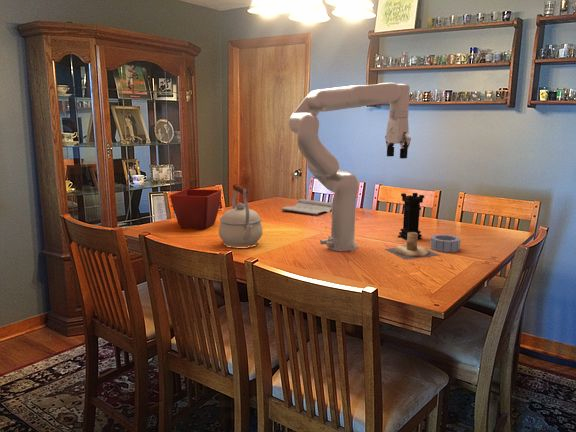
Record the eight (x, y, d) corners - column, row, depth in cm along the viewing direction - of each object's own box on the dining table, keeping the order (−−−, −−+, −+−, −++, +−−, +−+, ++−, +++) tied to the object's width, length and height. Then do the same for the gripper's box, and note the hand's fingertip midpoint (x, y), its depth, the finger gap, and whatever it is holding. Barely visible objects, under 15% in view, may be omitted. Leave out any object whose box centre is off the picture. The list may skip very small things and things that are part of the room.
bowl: (442, 254, 195) (443, 242, 194) (424, 247, 205) (425, 235, 204) (465, 252, 199) (466, 240, 198) (447, 245, 209) (447, 233, 208)
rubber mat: (405, 260, 187) (405, 259, 187) (384, 250, 201) (384, 249, 201) (440, 256, 193) (440, 255, 192) (417, 246, 206) (417, 245, 206)
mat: (280, 212, 277) (280, 204, 276) (301, 206, 297) (301, 198, 296) (317, 217, 265) (317, 208, 264) (336, 210, 285) (336, 202, 284)
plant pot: (170, 229, 235) (168, 194, 231) (187, 221, 253) (186, 188, 249) (208, 232, 230) (207, 196, 227) (222, 223, 248) (222, 190, 245)
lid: (407, 258, 188) (408, 238, 187) (388, 249, 200) (389, 231, 199) (435, 254, 193) (436, 235, 191) (415, 246, 205) (416, 228, 203)
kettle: (213, 240, 216) (212, 183, 211) (254, 236, 222) (253, 181, 217) (227, 255, 193) (226, 192, 188) (272, 250, 199) (272, 189, 194)
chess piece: (406, 241, 215) (408, 196, 210) (397, 237, 222) (399, 193, 218) (422, 240, 217) (425, 195, 213) (413, 236, 224) (416, 192, 220)
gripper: (379, 115, 208) (377, 155, 212) (403, 115, 192) (400, 159, 196) (394, 115, 211) (392, 155, 214) (419, 115, 195) (416, 158, 199)
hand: (396, 157), depth 205 cm, fingers open, 9 cm apart
